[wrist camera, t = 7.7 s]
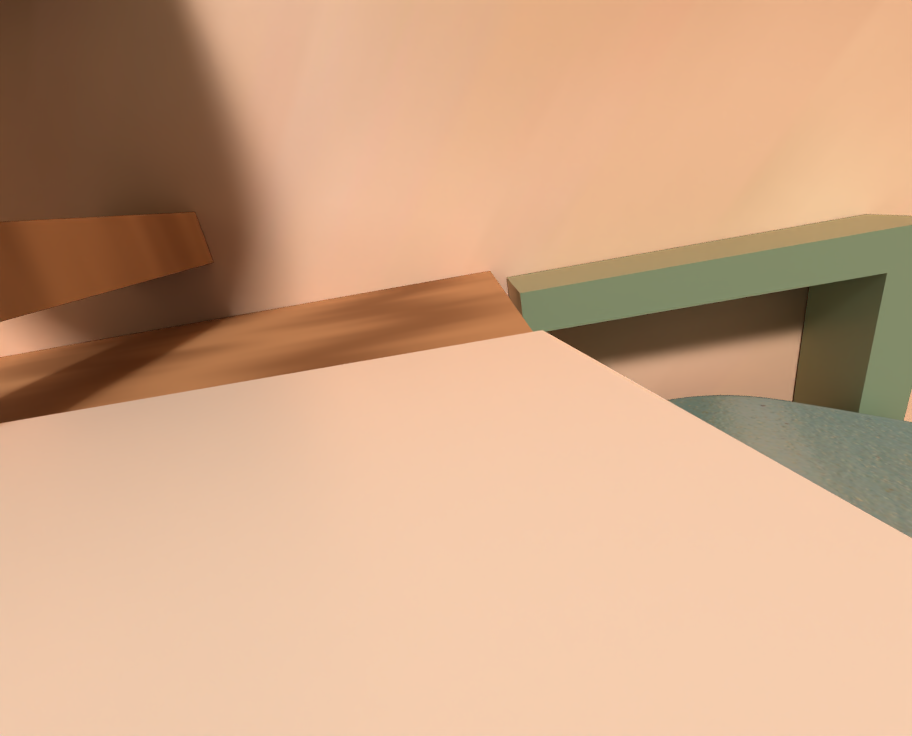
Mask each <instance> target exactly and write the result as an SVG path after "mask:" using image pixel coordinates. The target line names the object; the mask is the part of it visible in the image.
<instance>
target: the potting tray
mask: <svg viewBox="0 0 912 736" xmlns="http://www.w3.org/2000/svg"><path fill="white" fill-rule="evenodd" d="M507 285H508V293H509V298H510V300H511V301H512V303H513V304H514V306H515V307H516V308H517V310H518V311H519V313H520V314H521V315H522V317H523V318H524V320H525V321H526V323H527V324H528V325H529V327H530V328H531V330H532V331H533V332H534V331H540V330H543V331H545V332H546V331H552V330H558V329H564V328H570V327H575V326H581V325H587V324H593V323H599V322H604V321H610V320H616V319H622V318H628V317H634V316H639V315H645V314H651V313H657V312H663V311H668V310H674V309H680V308H686V307H692V306H698V305H703V304H709V303H715V302H721V301H727V300H733V299H738V298H744V297H750V296H756V295H762V294H767V293H773V292H779V291H785V290H791V289H797V288H802V287H808V286H809V292H808V299H807V306H806V314H805V321H804V328H803V335H802V342H801V350H800V357H799V364H798V371H797V378H796V385H795V393H794V400H793V402H797V403H803V404H809V405H815V406H821V407H827V408H833V409H839V410H845V411H851V412H857V413H862V414H868V415H874V416H880V417H886V418H891V419H897V420H903V421H904V417H905V413H906V409H907V405H908V401H909V397H910V393H911V389H912V216H903V215H874V214H864V215H859V216H853V217H847V218H842V219H836V220H830V221H825V222H819V223H813V224H808V225H802V226H796V227H791V228H785V229H779V230H773V231H768V232H762V233H756V234H751V235H745V236H739V237H734V238H728V239H722V240H717V241H711V242H705V243H700V244H694V245H688V246H683V247H677V248H671V249H665V250H660V251H654V252H648V253H643V254H637V255H631V256H626V257H620V258H614V259H609V260H603V261H597V262H592V263H586V264H580V265H574V266H569V267H563V268H557V269H552V270H546V271H540V272H535V273H529V274H523V275H518V276H512V277H507Z"/></svg>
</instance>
